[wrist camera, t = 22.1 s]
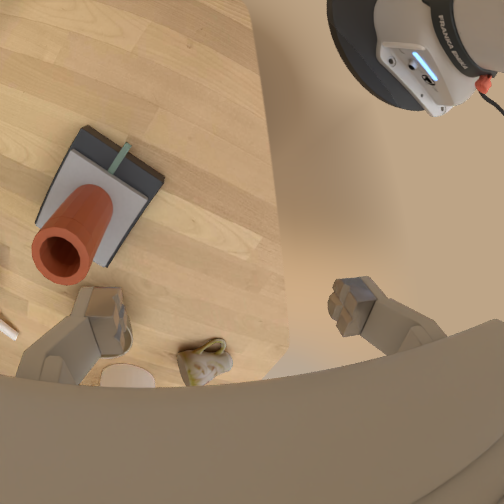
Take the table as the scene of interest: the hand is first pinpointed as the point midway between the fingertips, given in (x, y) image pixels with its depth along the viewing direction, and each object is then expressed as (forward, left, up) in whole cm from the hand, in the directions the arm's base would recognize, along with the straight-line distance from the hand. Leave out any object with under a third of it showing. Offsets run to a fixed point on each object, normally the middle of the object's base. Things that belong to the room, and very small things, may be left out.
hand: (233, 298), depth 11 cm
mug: (-22, +28, -27) cm, 45 cm away
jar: (+7, +12, -24) cm, 27 cm away
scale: (+7, +12, -27) cm, 30 cm away
